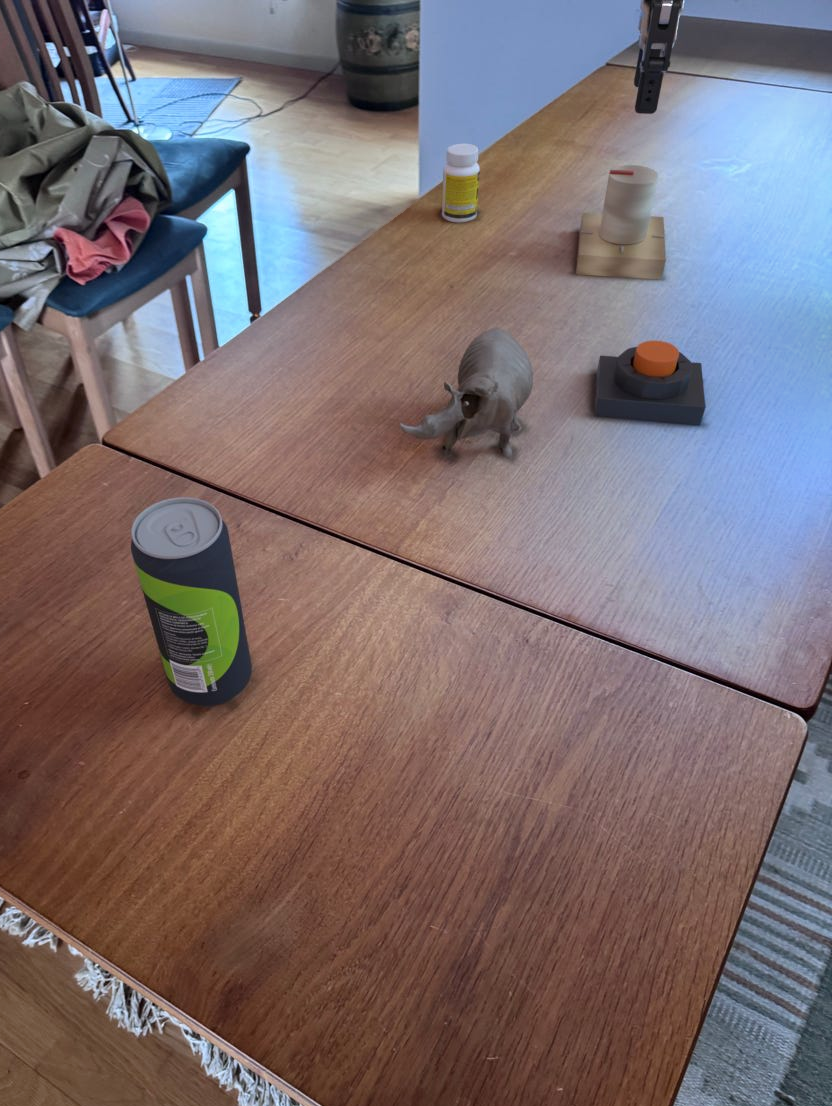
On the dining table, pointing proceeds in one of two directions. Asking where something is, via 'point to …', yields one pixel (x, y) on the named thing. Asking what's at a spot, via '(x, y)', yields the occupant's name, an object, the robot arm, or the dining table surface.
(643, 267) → the tan square base
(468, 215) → the supplement bottle
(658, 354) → the button
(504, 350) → the rhinoceros figurine
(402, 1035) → the dining table surface
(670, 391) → the button box
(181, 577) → the beverage can
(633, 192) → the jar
